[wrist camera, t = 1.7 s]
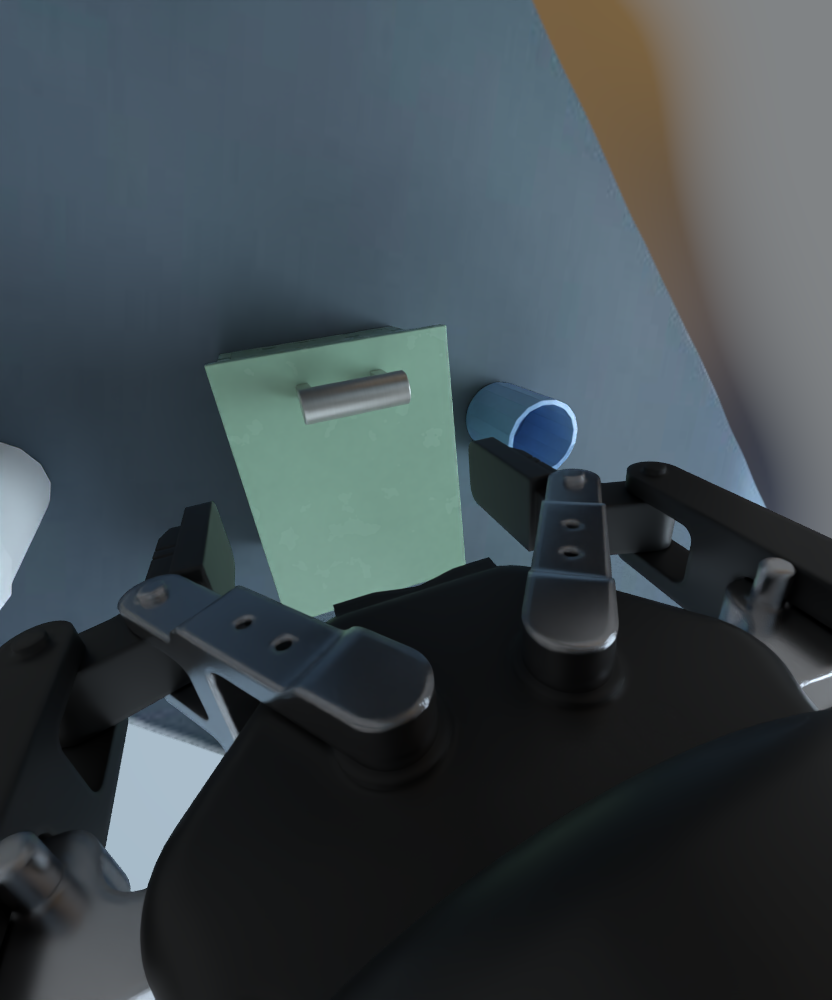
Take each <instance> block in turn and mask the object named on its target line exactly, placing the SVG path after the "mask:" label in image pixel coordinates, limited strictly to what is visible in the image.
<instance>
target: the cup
mask: <svg viewBox="0 0 832 1000" xmlns="http://www.w3.org/2000/svg"><path fill="white" fill-rule="evenodd" d="M466 425H467V429H468V432H469V435H470V436H471V438H472V439H473V440H474V441H476V440H480V439H484V438H489V437H494V438H496V439H497V440H499V441H501V442H502V443H504V444H505V445H507V446H509V447H512V448H516V449H520V450H524V451H525V452H527V453H529V454H530V455H532V456H533V457H536V458H537V459H539V460H540V461H541V462H544V463H546V464H547V465H549V466H551V467H553V468H554V469H557V468H558V467H559V466H560V465H561V464H562V463H563V462H564V461H565V460H566V459H567V458H568V457H569V455H570V453H571V451H572V449H573V447H574V445H575V442H576V436H577V423H576V418H575V414H574V413H573V412H572V410H571V409H570V408H569V406H568V405H567V404H565V403H563V402H560V401H558V400H556V399H553V398H550V397H547V396H545V395H542V394H539V393H536V392H533V391H531V390H528V389H525V388H522V387H519V386H517V385H514V384H511V383H506V382H495V383H492V384H489V385H487V386H485V387H484V388H482V389H481V390H480V391H479V392H478V393H477V394H476V395H475V396H474V398H473V399H472V401H471V403H470V405H469V407H468V411H467V416H466Z"/></svg>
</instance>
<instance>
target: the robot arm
mask: <svg viewBox="0 0 832 1000" xmlns="http://www.w3.org/2000/svg"><path fill="white" fill-rule="evenodd" d="M468 450H469V468H470V485H471V491H472V495H473V497H474V499H475V501H476V502H477V504H478V505H480V506H481V507H482V508H483V509H484V510H485V511H486V512H487V513H488V514H489V515H490V516H491V517H492V518H494V519H495V520H496V521H497V522H498V523H499V524H500V525H501V526H502V527H503V528H504V529H505V530H507V531H508V532H509V533H510V534H511V535H512V536H513V537H514V538H515V539H516V540H517V541H518V542H519V543H521V544H522V545H523V546H524V547H525V548H526V549H527V550H528V551H529V552H530V551H533V550H534V552H533V559H532V565H531V567H527V566H513V565H509V566H496V565H495V564H494V563H493V561H492V560H491V559H490V558H489V557H488V558H485V559H482V560H478V561H475V562H472V563H469V564H465V565H462V566H459V567H455V568H453V569H451V570H449V571H447V572H445V573H443V574H441V575H439V576H437V577H435V578H433V579H431V580H430V581H428V582H426V583H424V584H422V585H420V586H416V587H410V588H403V589H395V590H388V591H380V592H374V593H370V594H367V595H364V596H360V597H357V598H354V599H351V600H347V601H344V602H341V603H337V604H334V605H333V607H334V611H335V615H336V617H334V618H332V619H330V620H329V621H327V622H322V621H320V620H318V619H316V618H313V617H311V616H309V615H307V614H304V613H302V612H300V611H298V610H295V609H293V608H291V607H288V606H286V605H284V604H282V603H279V602H277V601H275V600H273V599H270V598H268V597H266V596H264V595H261V594H259V593H257V592H254V591H252V590H250V589H248V588H245V587H243V586H235V562H234V557H233V553H232V550H231V547H230V544H229V541H228V538H227V535H226V533H225V530H224V527H223V524H222V521H221V518H220V516H219V513H218V510H217V508H216V505H215V503H214V502H213V501H212V502H207V503H203V504H199V505H194V506H190V507H186V508H185V510H184V514H183V518H182V522H181V526H178V527H174V528H170V529H169V530H168V531H167V532H166V533H165V534H164V535H163V536H162V537H160V538H159V540H158V543H157V546H156V549H155V551H156V552H154V555H153V558H152V559H153V560H152V561H151V564H150V567H149V570H148V573H147V576H146V579H145V581H143V582H141V583H139V584H137V585H136V586H134V587H133V588H131V589H130V590H128V591H127V592H126V593H125V594H124V595H123V596H122V597H121V599H120V600H119V602H118V610H119V612H120V614H119V615H117V616H115V617H113V618H112V619H110V620H108V621H105V622H103V623H101V624H99V625H97V626H94V627H92V628H90V629H88V630H86V631H83V632H81V633H79V634H78V633H77V631H76V630H75V628H74V626H73V625H72V624H71V623H70V622H68V621H52V622H48V623H44V624H41V625H38V626H35V627H33V628H30V629H28V630H26V631H24V632H22V633H20V634H18V635H17V636H15V637H13V638H12V639H10V640H9V641H8V642H6V643H5V644H4V645H2V646H1V647H0V1000H832V539H831V538H829V537H827V536H825V535H823V534H820V533H818V532H816V531H814V530H812V529H810V528H807V527H805V526H803V525H801V524H799V523H796V522H794V521H792V520H790V519H788V518H786V517H784V516H781V515H779V514H777V513H775V512H773V511H771V510H769V509H766V508H764V507H762V506H760V505H758V504H756V503H753V502H751V501H749V500H747V499H745V498H743V497H741V496H738V495H736V494H734V493H732V492H730V491H728V490H725V489H723V488H721V487H719V486H717V485H715V484H712V483H710V482H708V481H706V480H704V479H702V478H699V477H697V476H695V475H693V474H691V473H689V472H686V471H684V470H682V469H680V468H678V467H676V466H673V465H670V464H667V463H661V462H639V463H635V464H632V465H630V466H629V467H628V468H627V474H626V481H622V482H611V483H601V481H600V477H599V476H598V475H597V474H595V473H593V472H591V471H587V470H583V469H563V470H556V469H554V468H553V467H551V466H549V465H547V464H546V463H544V462H541V461H540V460H539V459H537V458H536V457H533V456H532V455H530V454H529V453H527V452H525V451H524V450H520V449H516V448H512V447H509V446H507V445H505V444H504V443H502V442H501V441H499V440H497V439H496V438H494V437H489V438H484V439H480V440H476V441H472V442H470V444H469V449H468ZM675 520H676V521H678V522H679V523H681V524H682V525H684V526H685V527H686V528H687V530H688V531H689V533H690V536H691V546H690V551H689V550H687V549H686V548H684V547H683V546H681V545H679V544H678V543H676V542H675V541H673V540H672V534H673V528H674V522H675ZM615 554H618V555H619V556H620V558H621V559H622V560H624V561H625V562H626V563H627V564H629V565H630V566H631V567H632V568H634V569H635V570H636V571H637V572H639V573H640V574H641V575H642V576H644V577H645V578H646V579H647V580H649V581H650V582H651V583H652V584H654V585H655V586H656V587H657V588H659V589H660V590H661V591H662V592H664V593H665V594H666V595H667V596H669V597H670V598H671V599H672V600H674V601H675V602H676V603H677V604H679V605H680V606H681V607H682V608H684V609H682V608H678V607H674V606H671V605H667V604H664V603H660V602H656V601H653V600H649V599H646V598H642V597H638V596H635V595H631V594H628V593H624V592H620V591H617V590H616V586H615V580H614V579H613V578H612V572H611V561H610V555H615ZM164 697H165V698H166V700H167V701H168V702H169V703H170V704H172V705H173V706H174V707H176V708H177V709H178V710H180V711H181V712H182V713H184V714H185V715H186V716H188V717H189V718H190V719H191V720H193V721H194V722H195V723H197V724H198V725H199V726H201V727H202V728H203V729H205V730H206V731H207V732H208V733H210V734H211V735H212V736H213V737H214V738H215V739H216V740H217V741H218V742H219V743H220V744H221V746H222V747H223V749H224V750H225V751H226V754H225V755H224V757H223V758H222V760H221V762H220V763H219V764H218V766H217V767H216V769H215V770H214V772H213V773H212V775H211V776H210V778H209V779H208V780H207V782H206V783H205V785H204V786H203V788H202V789H201V791H200V792H199V794H198V795H197V797H196V798H195V800H194V801H193V803H192V804H191V806H190V807H189V808H188V810H187V812H186V813H185V814H184V816H183V817H182V819H181V820H180V822H179V823H178V825H177V826H176V828H175V829H174V831H173V833H172V834H171V836H170V838H169V839H168V841H167V842H166V844H165V845H164V848H163V850H162V852H161V854H160V856H159V858H158V860H157V862H156V864H155V867H154V870H153V872H152V875H151V878H150V881H149V883H148V887H147V888H146V889H143V890H139V891H135V892H131V891H130V883H129V880H128V878H127V876H126V874H125V873H124V872H123V870H122V869H121V868H120V867H119V865H118V864H117V863H116V862H115V860H114V859H113V858H112V857H111V855H110V854H109V853H108V852H107V850H106V849H105V846H106V841H107V835H108V830H109V825H110V819H111V813H112V808H113V803H114V797H115V792H116V786H117V781H118V775H119V770H120V764H121V759H122V753H123V748H124V743H125V737H126V732H127V726H128V717H130V716H131V715H133V714H135V713H137V712H139V711H140V710H142V709H144V708H146V707H148V706H149V705H151V704H153V703H155V702H156V701H158V700H160V699H162V698H164Z"/></svg>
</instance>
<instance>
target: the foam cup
mask: <svg viewBox="0 0 832 1000" xmlns="http://www.w3.org/2000/svg"><path fill="white" fill-rule="evenodd" d="M50 492H51V482H50V480H49V478H48V477H47V475H46V473H45V471H44V469H43V467H42V466H41V464H40V463H38V462H37V461H36V460H35V459H33V458H32V457H31V456H29V455H28V454H27V453H25V452H24V451H23V450H21V449H20V448H17V447H14V446H11V445H8V444H5V443H2V442H0V609H1V608H2V607H3V605H4V604H5V603H6V601H7V600H8V599H9V597H10V596H11V584H12V581H13V579H14V577H15V575H16V573H17V571H18V569H19V567H20V564H21V562H22V560H23V558H24V556H25V554H26V552H27V550H28V547H29V545H30V543H31V541H32V539H33V537H34V535H35V533H36V531H37V528H38V526H39V524H40V522H41V520H42V518H43V516H44V514H45V512H46V509H47V507H48V503H49V502H50Z"/></svg>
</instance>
